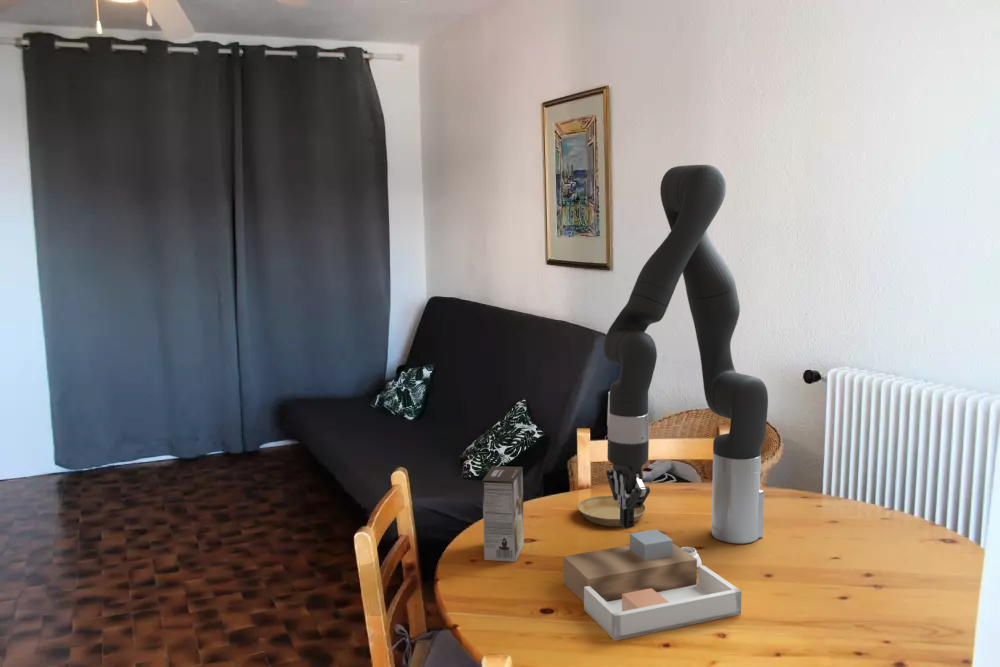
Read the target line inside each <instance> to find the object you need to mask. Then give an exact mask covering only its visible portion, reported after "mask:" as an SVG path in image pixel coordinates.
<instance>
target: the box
mask: <svg viewBox="0 0 1000 667" xmlns="http://www.w3.org/2000/svg"><path fill="white" fill-rule="evenodd" d="M697 569H698V570H697V573H698V574H697V576H698V577H697V584H696V585H692V586H687V587H682V588H677V589H671V590H666V591H661V592H657V593H658V594H659V595H661V596H662V597H663V598H665V599H666V600H667V601H668V602H667V603H662V604H657V605H652V606H647V607H642V608H637V609H632V610H627V611H622V599H619V600H614V601H609V602H606V601H605V600H604V599H603V598H602V597H601V596H600V595H599V594H598V593H597V592H595V591H594V590H593V589H592V588H591V587H590V586H586V587H584V603H583V610H584V611H585V612H586V614H588V615H589V616H590V617H591V618H592V619H593V620H594V621H595V622H596V624H598V625H599V626H600V627H601V629H603V631H605V633H607V634H608V636H609V637H610V638H612V639H613V641H621V640H625V639H630V638H634V637H640V636H643V635H644V636H645V635H649V634H654V633H659V632H662V631H667V630H672V629H677V628H681V627H687V626H692V625H696V623H697V624H701V623H706V622H711V621H716V620H720V619H725V618H730V617H734V616H740V615H742V592H743V591H742V590H741V589H739V588H738V587H736V586H735V585H734V584H732V583H730V582H729V581H727V580H726V579H725V578H723V577H721V576H720V575H719V574H717V573H716V572H714V571H713V570H712V569H710V568H709V567H708V566H706V565H705V564H702V565H701V566H698V568H697Z"/></svg>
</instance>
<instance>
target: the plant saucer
mask: <svg viewBox="0 0 1000 667" xmlns="http://www.w3.org/2000/svg"><path fill="white" fill-rule="evenodd" d="M577 509H578V511H579V512H580V513H581V515H582V516H583V517H584V518H586V519H587V520H588V521H589V522H591V523H593V524H595V525H600V526H604V527H605V526H606V527H622V526H621V525H620V507H619V506H618V501H617V500H616V501H615V500H614V498H613V495H598V496H592V497H588V498H584V499H582V500H580V501H579V503H578V504H577ZM646 511H647V506H646V504H645V503H643V505H642V507H641V508H635V509H634V523H635V522H637V520H640V518H641V517H642V516H643V515H644V514H645V512H646Z"/></svg>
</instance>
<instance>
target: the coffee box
mask: <svg viewBox="0 0 1000 667" xmlns="http://www.w3.org/2000/svg"><path fill="white" fill-rule="evenodd" d="M523 469H524V466H502V465H501V466H496V465H495V466H494V465H493V466H491V467H490V468H489V471H488V472H487V473H486V475H485V476H484V477H483V479H482V483H481V484H482V515H483V516H482V517H483V554H484V555H483V556H484V557H483V558H484V560H485V561H495V562H497V561H498V562H510V563H511V562H512V563H513V562H514V563H515V562H516V561H517V559H518V557H519V555H520V554H521V551H522V548H523V546H524V544H525V533H524V532H525V528H524V527H525V522H524V521H525V520H524V515H525V514H524V476H523V472H524V470H523Z"/></svg>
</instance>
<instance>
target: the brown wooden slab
mask: <svg viewBox="0 0 1000 667" xmlns="http://www.w3.org/2000/svg"><path fill="white" fill-rule="evenodd" d="M681 548H682V547H679V546H678V545H677V544H675V543H674V542H673V543H672V556H671V557H666V558H660V559H654V560H649V561H644V560H643V559H641V558H640V557H639V556H637V555H636V554H635V553H633V552H632V551H631V550H630V544H629V545H623V546H617V547H613V548H612V547H611V548H610V547H609V548H605V549H601V550H600V549H599V550H594V551H586V552H582V553H575V554H570V555H564V556H563V584H564V585H565V586H566V587H567V588H568V589H569V590H570V591H571V592H572V593H573V594H574V596H576V597H577V598H578V599H579V600H580V601H581V602H582V603H583V604H584V587H586V586H590V587H591V588H592V589H593V590H594V591H595V592H597V593H598V594H599V595H600V596H601V597H602V598H603V599H604V600H605V601H606V602H609V601H614V600H619V599H622V594H625V593H630V592H635V591H640V590H645V589H650V588H652V589H653V590H654V591H656V592H661V591H666V590H671V589H677V588H682V587H687V586H692V585H697V584H698V577H697V576H698V574H697V573H698V570H697V569H698V568H697V559H696V558H694V557H693V556H691V555H690V554H688V553H687V552H685V551H684V550H682V549H681Z"/></svg>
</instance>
